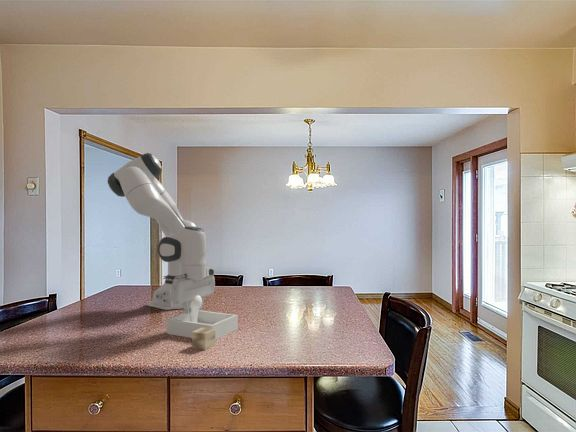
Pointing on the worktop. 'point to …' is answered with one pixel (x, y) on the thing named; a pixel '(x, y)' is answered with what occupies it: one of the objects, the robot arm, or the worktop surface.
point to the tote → (202, 324)
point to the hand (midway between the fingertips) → (193, 311)
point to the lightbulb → (194, 308)
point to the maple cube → (203, 338)
